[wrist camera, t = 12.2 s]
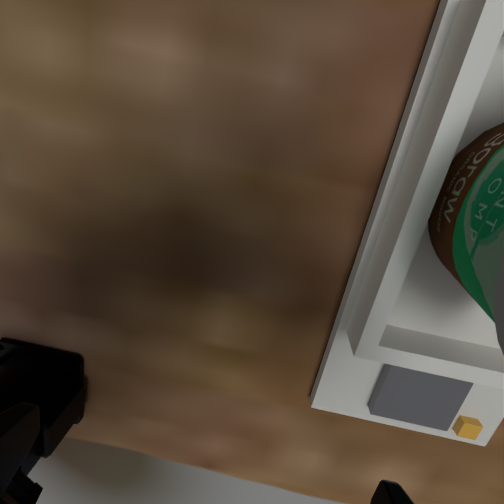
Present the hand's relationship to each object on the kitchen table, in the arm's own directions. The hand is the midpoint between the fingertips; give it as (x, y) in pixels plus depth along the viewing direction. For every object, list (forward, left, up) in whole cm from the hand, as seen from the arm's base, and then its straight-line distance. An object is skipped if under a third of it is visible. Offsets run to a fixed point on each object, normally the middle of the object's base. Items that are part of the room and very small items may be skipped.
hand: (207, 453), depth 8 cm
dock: (+12, +3, -13) cm, 18 cm away
